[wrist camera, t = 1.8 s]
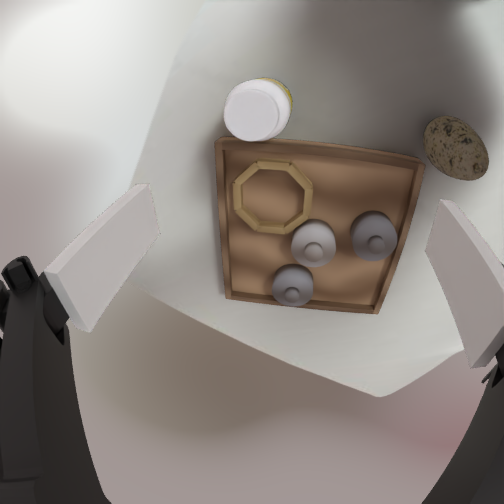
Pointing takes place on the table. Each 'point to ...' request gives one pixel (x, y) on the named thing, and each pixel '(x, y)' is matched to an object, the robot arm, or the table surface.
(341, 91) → the table surface
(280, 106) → the supplement bottle
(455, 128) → the decorative egg
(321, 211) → the carrier
